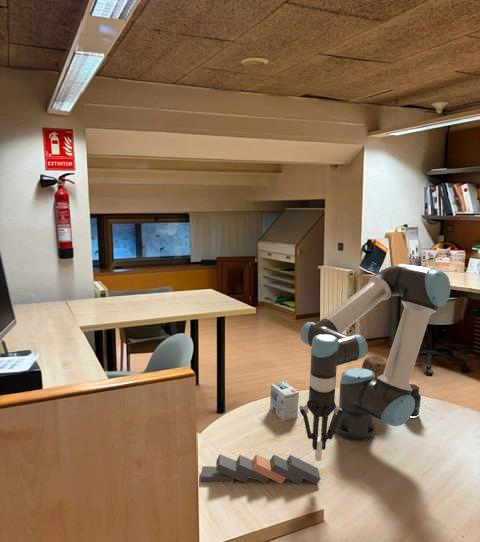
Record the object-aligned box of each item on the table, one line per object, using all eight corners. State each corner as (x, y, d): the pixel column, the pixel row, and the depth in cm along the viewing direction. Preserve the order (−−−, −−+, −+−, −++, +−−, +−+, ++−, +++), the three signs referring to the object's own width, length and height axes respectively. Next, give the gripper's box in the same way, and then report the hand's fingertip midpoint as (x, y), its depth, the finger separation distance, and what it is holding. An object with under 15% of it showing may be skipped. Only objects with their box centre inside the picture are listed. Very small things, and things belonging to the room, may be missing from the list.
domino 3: (268, 467, 143) (239, 454, 142) (269, 477, 138) (239, 464, 137) (264, 473, 143) (236, 460, 142) (265, 484, 138) (236, 471, 137)
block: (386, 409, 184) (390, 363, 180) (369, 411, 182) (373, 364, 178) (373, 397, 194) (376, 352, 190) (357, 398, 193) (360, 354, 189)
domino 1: (234, 467, 143) (202, 466, 143) (233, 477, 138) (200, 476, 138) (234, 473, 144) (202, 473, 144) (233, 484, 139) (200, 483, 139)
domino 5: (301, 468, 143) (273, 454, 142) (303, 478, 138) (274, 464, 137) (297, 474, 143) (269, 460, 142) (299, 484, 138) (270, 470, 137)
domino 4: (284, 467, 143) (256, 453, 142) (285, 478, 138) (257, 464, 137) (280, 473, 143) (252, 459, 142) (281, 484, 138) (253, 470, 137)
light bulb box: (269, 408, 183) (270, 383, 181) (283, 405, 186) (284, 380, 184) (283, 421, 174) (284, 395, 172) (298, 417, 177) (299, 392, 175)
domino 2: (248, 466, 143) (219, 454, 142) (249, 476, 138) (219, 464, 137) (245, 472, 143) (216, 460, 142) (245, 483, 138) (216, 470, 137)
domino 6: (317, 468, 143) (290, 454, 142) (320, 478, 138) (292, 464, 137) (313, 474, 143) (286, 460, 142) (316, 484, 138) (288, 470, 137)
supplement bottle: (416, 420, 176) (419, 392, 173) (398, 415, 179) (401, 387, 177) (420, 413, 182) (423, 385, 179) (402, 408, 185) (405, 381, 183)
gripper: (341, 381, 138) (337, 451, 143) (298, 380, 138) (295, 450, 143) (347, 393, 131) (341, 466, 135) (301, 392, 131) (298, 465, 136)
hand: (318, 458), depth 139 cm, fingers closed
